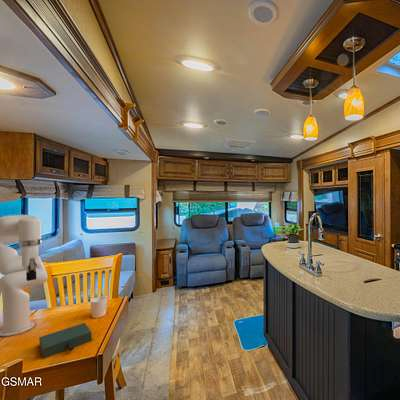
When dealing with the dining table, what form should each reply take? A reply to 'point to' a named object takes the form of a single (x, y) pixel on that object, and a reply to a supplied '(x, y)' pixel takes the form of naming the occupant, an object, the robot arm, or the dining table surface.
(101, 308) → the white cup
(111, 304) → the dining table surface
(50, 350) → the dustpan
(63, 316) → the dining table surface
